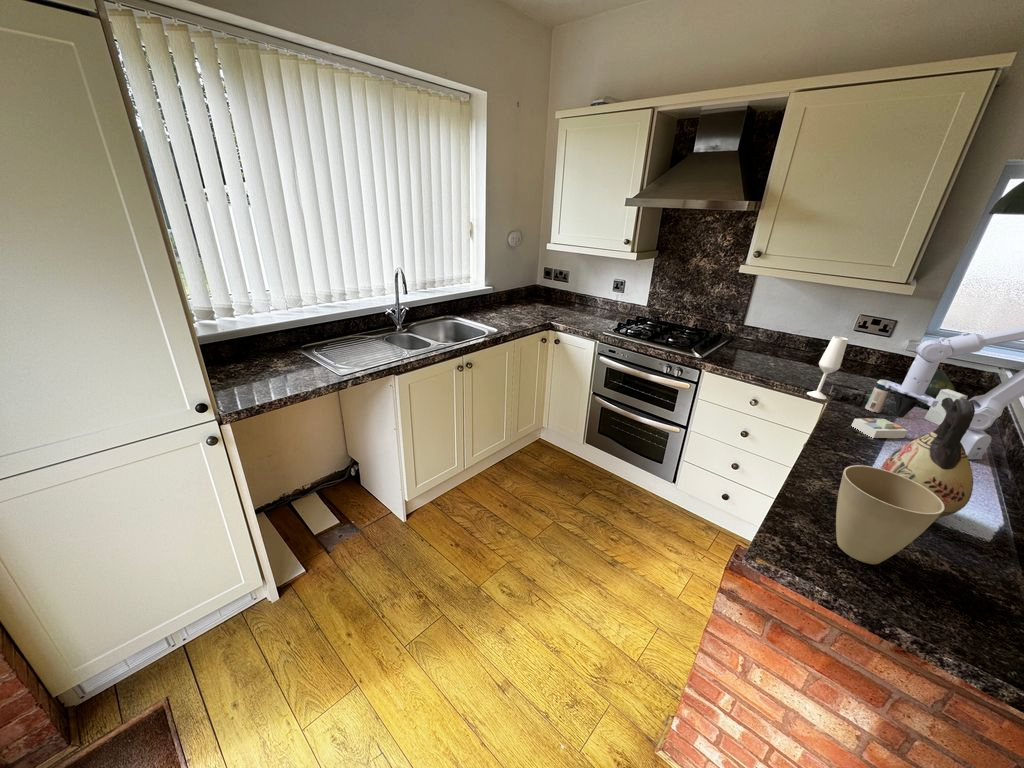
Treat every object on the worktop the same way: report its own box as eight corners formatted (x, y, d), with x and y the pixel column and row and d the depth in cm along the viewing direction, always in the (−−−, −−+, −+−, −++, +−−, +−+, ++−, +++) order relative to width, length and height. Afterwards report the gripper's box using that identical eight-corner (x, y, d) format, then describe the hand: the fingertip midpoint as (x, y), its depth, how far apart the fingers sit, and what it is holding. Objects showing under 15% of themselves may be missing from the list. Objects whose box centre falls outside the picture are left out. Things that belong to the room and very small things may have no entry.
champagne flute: (806, 390, 169) (828, 334, 159) (825, 395, 166) (850, 338, 156) (807, 395, 163) (830, 337, 154) (827, 400, 160) (852, 341, 151)
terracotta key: (899, 433, 136) (902, 427, 135) (891, 433, 135) (895, 427, 134) (890, 428, 138) (893, 422, 138) (882, 428, 138) (886, 422, 137)
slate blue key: (878, 433, 134) (882, 427, 133) (871, 433, 134) (874, 427, 133) (870, 428, 137) (873, 422, 136) (862, 428, 137) (865, 422, 136)
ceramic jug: (867, 481, 109) (920, 377, 97) (945, 509, 101) (1015, 399, 89) (866, 512, 97) (928, 398, 85) (956, 547, 88) (1039, 425, 76)
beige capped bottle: (883, 414, 152) (897, 384, 147) (868, 412, 153) (883, 382, 148) (875, 409, 156) (889, 380, 152) (861, 406, 157) (875, 378, 152)
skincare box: (923, 418, 151) (939, 389, 147) (930, 418, 153) (947, 388, 148) (943, 427, 146) (960, 396, 141) (951, 426, 147) (968, 395, 143)
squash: (911, 395, 158) (955, 372, 152) (887, 382, 172) (927, 360, 166) (931, 422, 159) (976, 400, 153) (906, 407, 173) (946, 387, 167)
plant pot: (861, 525, 92) (893, 466, 86) (925, 581, 78) (968, 515, 72) (798, 523, 91) (826, 462, 85) (851, 578, 78) (888, 512, 71)
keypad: (903, 438, 135) (908, 429, 134) (872, 438, 133) (877, 429, 132) (880, 426, 142) (884, 417, 141) (850, 426, 140) (855, 417, 139)
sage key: (890, 430, 135) (894, 423, 134) (883, 430, 134) (886, 423, 133) (882, 425, 137) (885, 419, 136) (874, 425, 137) (877, 419, 136)
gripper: (885, 369, 135) (868, 406, 141) (932, 387, 122) (911, 427, 127) (903, 369, 136) (885, 406, 142) (951, 387, 123) (930, 427, 129)
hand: (899, 416), depth 135 cm, fingers closed
